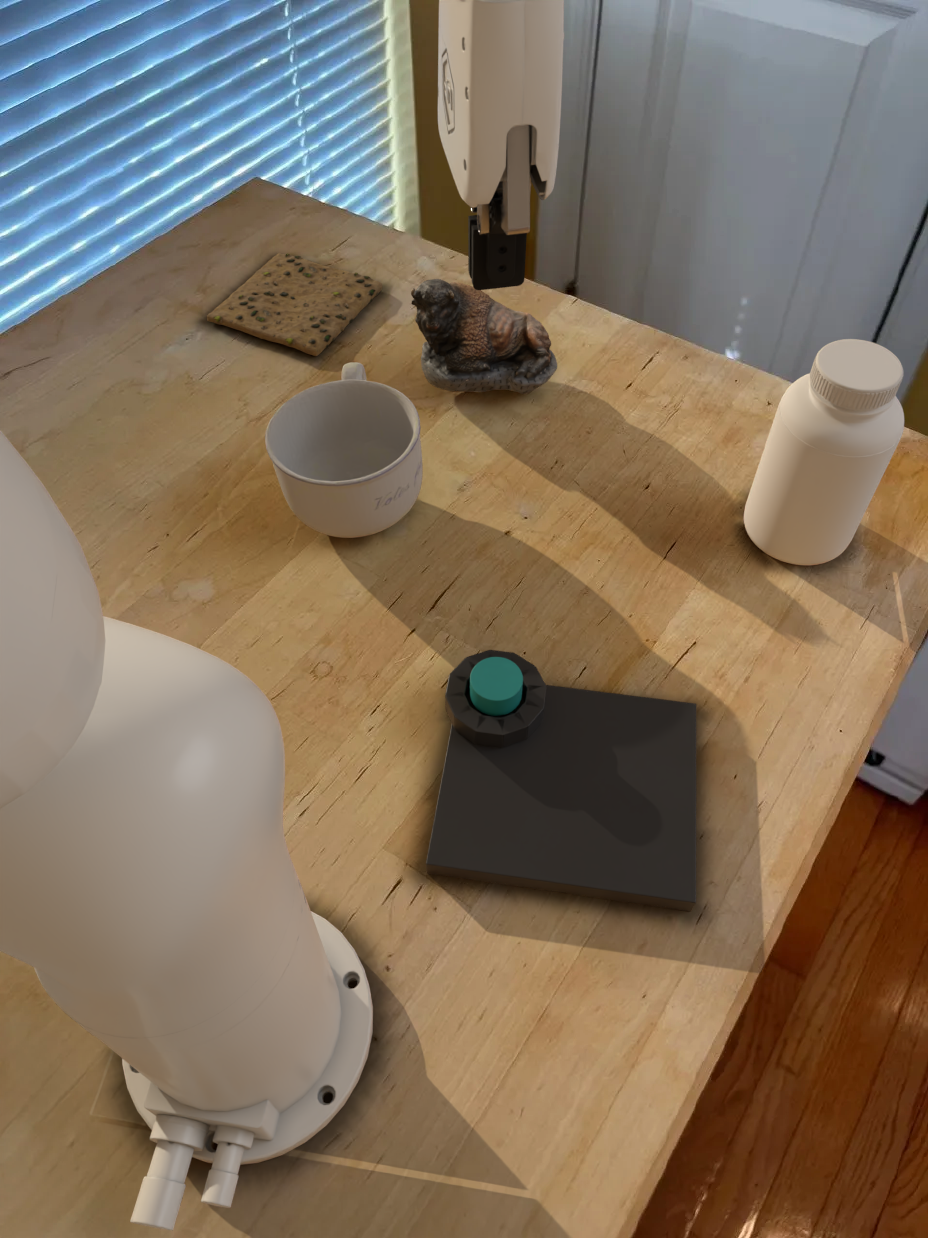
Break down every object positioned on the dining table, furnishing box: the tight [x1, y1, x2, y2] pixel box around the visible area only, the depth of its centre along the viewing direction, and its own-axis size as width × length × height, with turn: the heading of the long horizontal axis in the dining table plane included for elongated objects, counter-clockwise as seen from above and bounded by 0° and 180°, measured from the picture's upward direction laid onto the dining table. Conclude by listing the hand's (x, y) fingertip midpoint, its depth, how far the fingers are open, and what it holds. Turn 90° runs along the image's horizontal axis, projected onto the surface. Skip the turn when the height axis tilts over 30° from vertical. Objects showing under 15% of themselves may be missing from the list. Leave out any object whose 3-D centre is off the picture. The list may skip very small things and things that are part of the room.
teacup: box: [264, 361, 424, 539], centre depth 69 cm, size 14×11×8 cm
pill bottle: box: [743, 338, 905, 566], centre depth 64 cm, size 8×8×15 cm
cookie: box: [206, 252, 383, 357], centre depth 87 cm, size 12×12×1 cm
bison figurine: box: [410, 278, 558, 395], centre depth 76 cm, size 12×7×10 cm, turn 98°
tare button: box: [470, 657, 523, 716], centre depth 57 cm, size 3×3×2 cm
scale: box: [425, 649, 697, 912], centre depth 56 cm, size 14×16×3 cm
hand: (496, 279), depth 58 cm, fingers closed
